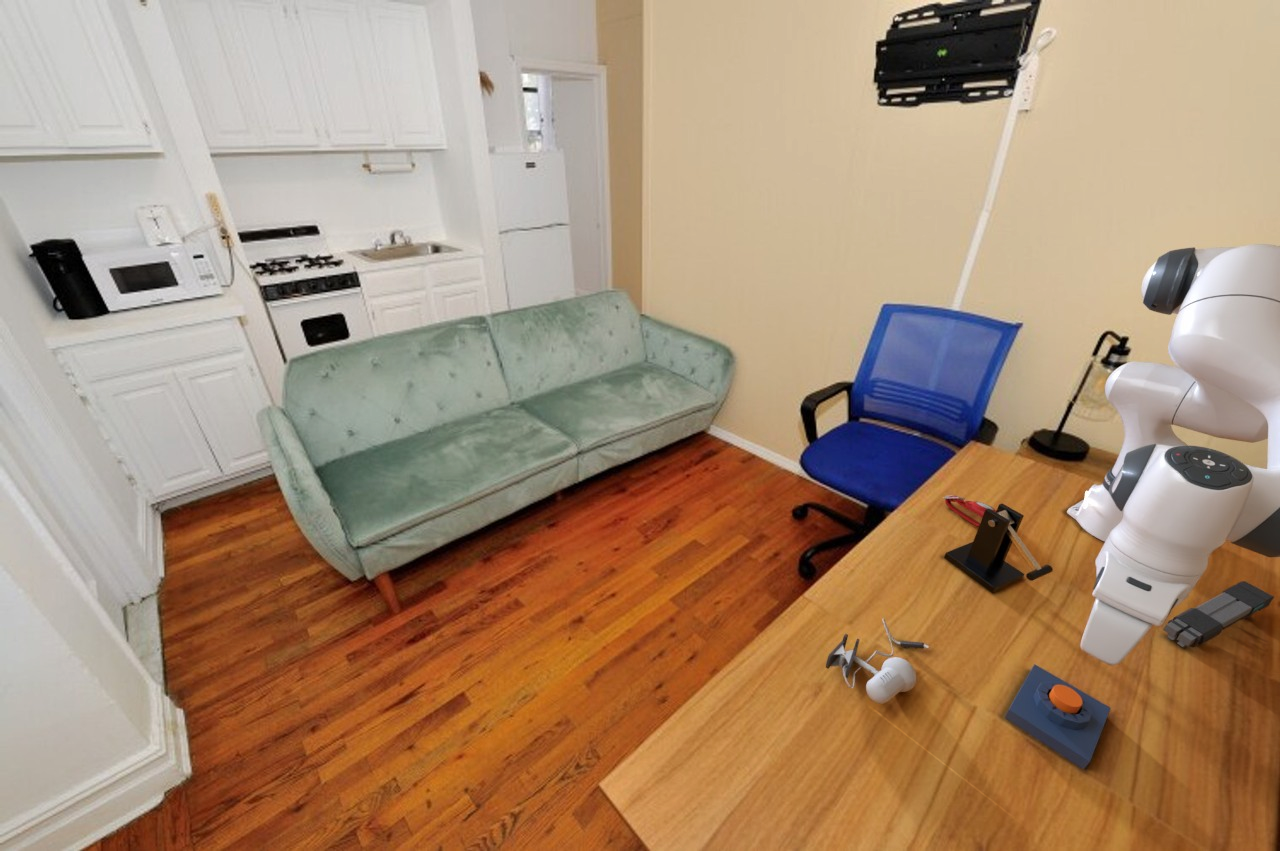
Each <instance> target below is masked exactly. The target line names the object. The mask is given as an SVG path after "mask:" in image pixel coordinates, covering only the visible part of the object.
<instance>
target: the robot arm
mask: <svg viewBox="0 0 1280 851" xmlns="http://www.w3.org/2000/svg"><path fill="white" fill-rule="evenodd" d="M1140 291H1141V296H1142V299H1143V300H1142V304H1143V305H1144V306H1145V308H1147V309H1148V310H1149V311H1151V312H1155V313H1158V314H1163V315H1166V316H1168V315H1169V316H1170V315H1172V314H1175V315H1176V317H1175V319H1174V322H1173V326H1172V328H1171V329H1172V330H1171V334H1170V339H1169V342H1168V344H1167V352H1168V355H1169V358H1170V360H1171V362H1172V363H1173V364H1174V365H1175V366H1174V365H1169V364H1166V363H1161V362H1151V361H1150V362H1149V361H1136V360H1135V361H1133V360H1132V361H1129V362H1126V363H1124V364H1122V365H1120V366H1118V367H1117V368H1115V369H1114V370H1113V371H1112V372H1111V373H1110V374H1109V376H1108V377H1107V380H1106V381H1105V385H1104V394H1105V397H1106V399H1107V401H1108V403H1109V404H1111V406H1112V407H1113V408H1114V410H1116V412H1117V413H1118V415H1119V418H1120V419H1121V420H1120V421H1121V422H1122V425H1123V430H1124V432H1123V433H1124V439H1123V442H1122V446H1121V449H1120V451H1119V454H1118V456H1117V459H1116V460H1115V463H1114V464H1113V467H1111V468H1110V469H1109V470H1108V471H1107V472H1106V474H1105V476H1104V478H1103V481H1102V483H1101V484H1097V483H1094V484H1092V485H1091V487H1089V489H1088V490H1086V491H1085V493H1084V499H1082V500H1080V501H1079V502H1077V503H1076V504H1074V505H1072V506H1070V507H1069V508H1068V509H1067V511H1066V513H1067V514H1068V515H1069V516H1070V517H1071V518H1073V519H1074V520H1075V521H1077V523H1078V524H1079V525H1080V527H1081V528H1082V529H1083V530H1084V531H1086V533H1088V534H1089V535H1091V536H1093V537H1095V538H1096V539H1098V540H1100V541H1102V542H1104V543H1103V545H1102V547H1101V549H1100V551H1099V552H1098V555H1097V556H1096V558H1095V561H1094V564H1095V568H1096V569H1095V570H1096V571H1095V573H1096V578H1095V582H1094V586H1093V588H1092V590H1093V591H1092V592H1091V593H1092V594H1091V595H1092V597H1093V598H1095V600H1094V602H1093V604H1092V608H1091V611H1090V614H1089V616H1088V618H1087V622H1086V625H1085V628H1084V630H1083V633H1082V637H1081V640H1080V645H1079V648H1080V649H1081V651H1083V653H1085V654H1087V655H1089V656H1091V657H1093V658H1094V659H1096V660H1098V661H1099V662H1102V663H1103V664H1104V663H1105V664H1106V665H1108V666H1112V667H1114V666H1117V665H1118V664H1119V665H1120V663H1121V662H1123V661H1124V660H1125V658H1126V657H1127V656H1128V655H1129V654H1130V653H1131V652H1132V651H1133V649H1135V647H1136V646H1137V645H1138V644H1139V643H1140V641H1141V640H1142V639H1143V638H1144V637H1145V636H1146V635H1147V633H1148V632H1149V631H1150V629H1151V628H1152V626H1153V625H1154V626H1156V627H1161V626H1162V625H1163V624H1164V623H1165V621H1166V620H1167V618H1168V617H1169V616H1170V615H1171V612H1172V610H1173V609H1174V608H1176V607H1177V606H1178V605H1179V604H1181V603H1183V602H1184V601H1185V600H1187V598H1188V597H1189V595H1190V594H1191V592H1192V591H1193V589H1194V588H1195V586H1196V585H1197V583H1198V582H1199V581H1200V579H1201V578H1202V576H1203V575H1204V573H1205V571H1207V568H1208V565H1209V558H1210V556H1211V554H1212V553H1213V552H1214V551H1216V550H1217V549H1219V548H1220V547H1221V546H1222V545H1223V544H1225V543H1226V541H1227V542H1230V544H1233V545H1234V546H1237V547H1240V548H1243V549H1245V550H1248V551H1251V552H1254V553H1257V554H1259V555H1262V556H1264V557H1268V558H1280V245H1276V244H1268V243H1257V244H1255V243H1254V244H1247V245H1242V246H1222V247H1208V248H1197V249H1196V247H1185V248H1177V249H1173V250H1169V251H1167V252H1166V253H1164V254H1161V255H1160V256H1159V257H1158V258H1157V260H1156V261H1155V262H1154V263H1153V264H1152V265H1151V266H1150V267H1149V268H1148V270H1147V271H1146V273H1145V274H1144V277H1143V279H1142V281H1141V290H1140ZM1172 426H1176V427H1180V428H1183V429H1186V430H1190V431H1193V432H1196V433H1200V434H1203V435H1207V436H1211V437H1215V438H1217V439H1225V440H1230V441H1237V442H1242V443H1243V442H1244V443H1250V444H1251V443H1252V444H1254V443H1257V442H1261V441H1265V440H1267V460H1266V461H1267V462H1266V464H1267V465H1266V468H1262V467H1258V466H1253V465H1249V464H1245V463H1243V462H1242V461H1241V460H1239V459H1238V458H1235V457H1234V456H1232V455H1230V454H1228V453H1226V452H1222V451H1220V450H1216V449H1213V448H1211V447H1210V448H1209V447H1204V446H1198V445H1189V444H1187V443H1186V442H1184V441H1183V440H1182V439H1181V438H1180V437H1178V436H1177V434H1176V433H1175V431H1174V430H1173V428H1172Z"/></svg>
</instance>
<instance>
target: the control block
mask: <svg viewBox="0 0 1280 851" xmlns="http://www.w3.org/2000/svg"><path fill="white" fill-rule="evenodd" d="M1055 685H1064V686H1067V687H1069V688H1071V689H1073V690H1074V691H1075V692H1077V693H1078V694H1079V695H1080V697H1081V698H1082V701H1083V704H1082V706H1081V707H1080V709H1079V710H1078V712H1077V713H1075V714H1069V713H1065V712H1063V711H1061V710H1060V709H1058V708H1056V707H1055V706H1054V705H1053V704H1052V702H1051V701H1050V699H1049V694H1050V692H1051V690H1052V688H1053V687H1054V686H1055ZM1111 709H1112V707H1110V706H1109V705H1107V704H1105V703H1103V702H1101V701H1100V700H1099V699H1096V698H1094V697H1093V696H1091V695H1090V694H1087V693H1086V692H1084V691H1082V690H1081V689H1079V688H1077V687H1075V686H1074V685H1072V684H1070V683H1069V682H1067V681H1065V680H1063V679H1061V678H1060V677H1058V676H1056V675H1055V674H1052V673H1051V672H1049V671H1047V670H1046V669H1044V668H1042V667H1040V666H1039V665H1037V664H1036V663H1035V664H1033V666H1032V667H1031V668H1030V670H1029V673H1028V674H1027V676H1026V677H1025V680H1024V682H1023V683H1022V685H1021V687H1020V688H1019V690H1018V692H1017V694H1016V695H1015V696H1014V699H1013V701H1012V703H1011V704H1010V706H1009V708H1008V709H1007V711H1006V712H1005V713H1006V714H1005V715H1004V719H1006V720H1008V721H1009V722H1010V723H1012V724H1013V725H1015V726H1017V727H1018V728H1019V729H1021V730H1023V731H1024V732H1025V733H1027V734H1029V735H1030V736H1031V737H1033V738H1034V739H1036V740H1038V741H1039V742H1041V743H1042V744H1044V745H1045V746H1047V747H1048V748H1050V749H1051V750H1053V751H1055V752H1056V753H1057V754H1059V755H1060V756H1062V757H1064V758H1065V759H1067V760H1068V761H1070V762H1072V764H1074V765H1076V766H1077V767H1079V768H1080V769H1082V770H1085V769H1086V768H1087V766H1088V765H1089V764H1090V762H1091V761H1092V758H1093V755H1094V752H1095V750H1096V747H1097V745H1098V742H1099V740H1100V737H1101V734H1102V733H1103V729H1104V727H1105V724H1106V721H1107V719H1108V716H1109V714H1110V711H1111Z"/></svg>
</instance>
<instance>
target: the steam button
mask: <svg viewBox="0 0 1280 851" xmlns="http://www.w3.org/2000/svg"><path fill="white" fill-rule="evenodd" d="M1049 699H1050V701H1051V702H1052V704H1053V705H1054V706H1055V707H1056V708H1058V709H1060V710H1061V711H1063V712H1065V713H1069V714H1075V713H1077V712H1078V710H1079V709H1080V707H1081V706H1082V704H1083V701H1082V698H1081V697H1080V695H1079V694H1078V693H1077V692H1075V691H1074V690H1073V689H1071V688H1069V687H1067V686H1064V685H1055V686H1054V687H1053V688H1052V690H1051V692H1050V694H1049Z"/></svg>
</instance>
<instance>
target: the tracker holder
mask: <svg viewBox="0 0 1280 851" xmlns="http://www.w3.org/2000/svg"><path fill="white" fill-rule="evenodd" d="M942 499H944V502H945V504H946V506H947V507H948V508H949V509H950V510H952V512H954V513H955V514H957V515H958V516H960V517H961V518H963V519H965V520H966V521H967V522H969V523H971V524H972V525H974V526H977V527H979V525H980V522H979V521H977V520H975V519H974V518H973V517H971V516H969V515H968V514H966V513H965V512H964V511H962V510H960V509H958V508H957V507H956V506H955V505H954V504H953V503H957V505H959V506H961V507H963V508H965V509H966V510H968V511H969V512H972V513H974V514H975V515H977V516H979V517H980V518H982V517H983V515H984V512H985V510H986V509H988V508H989V509H991V510H993V511H994V512H996V511H997V509H995V508H993V507H992V506H991V505H989V504H986V503H984V502H981V501H972V500H966V498H965V497H961V496H958V495H952V494H951V495H946V496H943V497H942ZM964 500H965V501H964Z"/></svg>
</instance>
